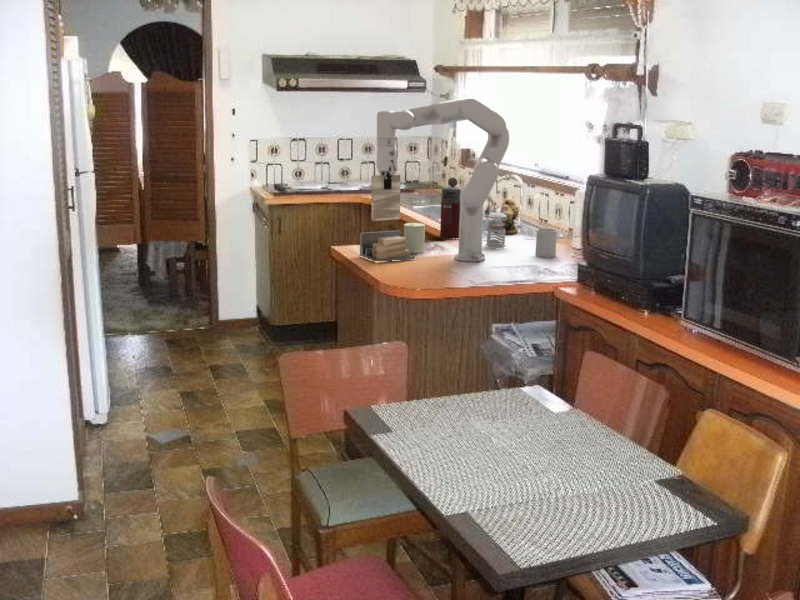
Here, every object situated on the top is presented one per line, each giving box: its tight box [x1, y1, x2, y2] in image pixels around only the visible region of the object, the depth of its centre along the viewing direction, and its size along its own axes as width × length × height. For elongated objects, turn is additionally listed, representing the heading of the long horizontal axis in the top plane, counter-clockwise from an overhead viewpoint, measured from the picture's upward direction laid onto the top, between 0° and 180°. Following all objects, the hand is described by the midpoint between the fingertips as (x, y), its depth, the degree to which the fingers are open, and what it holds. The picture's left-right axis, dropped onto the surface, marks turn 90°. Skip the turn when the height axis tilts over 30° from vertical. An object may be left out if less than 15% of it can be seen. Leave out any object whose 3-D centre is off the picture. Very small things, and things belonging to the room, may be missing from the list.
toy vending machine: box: [439, 176, 463, 240], centre depth 414 cm, size 9×11×28 cm
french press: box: [482, 189, 507, 249], centre depth 395 cm, size 10×12×25 cm
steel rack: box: [359, 229, 416, 261], centre depth 364 cm, size 14×18×10 cm
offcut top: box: [378, 236, 406, 246], centre depth 361 cm, size 5×10×2 cm, turn 126°
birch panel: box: [371, 173, 401, 222], centre depth 362 cm, size 2×12×18 cm, turn 118°
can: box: [403, 222, 426, 254], centre depth 381 cm, size 9×9×12 cm
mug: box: [534, 228, 558, 258], centre depth 380 cm, size 12×8×11 cm
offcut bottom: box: [372, 249, 411, 259], centre depth 362 cm, size 6×14×2 cm, turn 118°
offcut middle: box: [373, 244, 406, 252], centre depth 361 cm, size 6×12×2 cm, turn 118°
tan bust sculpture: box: [493, 197, 519, 236], centre depth 435 cm, size 18×12×17 cm, turn 176°
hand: (386, 188), depth 361 cm, fingers closed on birch panel, 2 cm apart
